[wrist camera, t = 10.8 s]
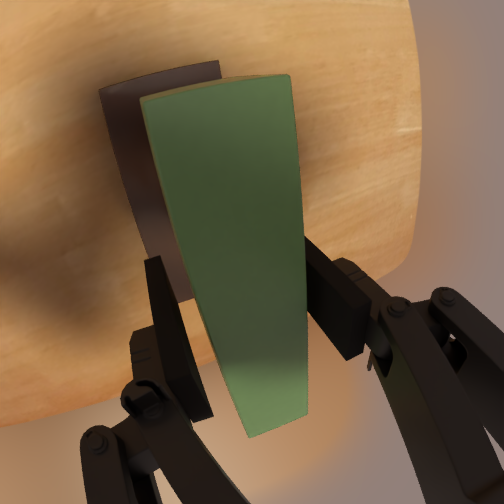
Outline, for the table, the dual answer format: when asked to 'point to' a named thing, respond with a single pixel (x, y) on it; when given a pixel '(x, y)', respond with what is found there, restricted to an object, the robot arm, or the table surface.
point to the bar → (240, 232)
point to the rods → (149, 161)
